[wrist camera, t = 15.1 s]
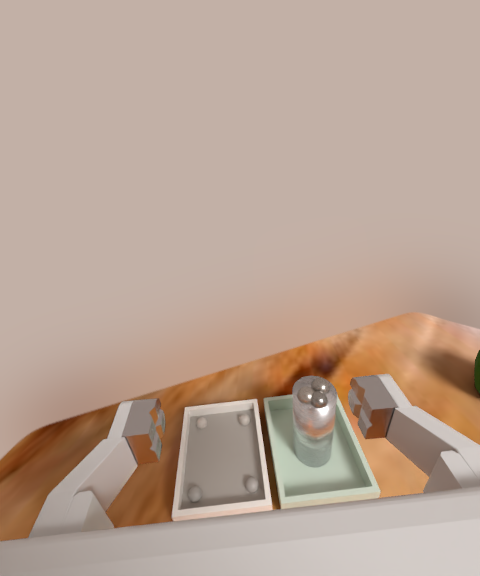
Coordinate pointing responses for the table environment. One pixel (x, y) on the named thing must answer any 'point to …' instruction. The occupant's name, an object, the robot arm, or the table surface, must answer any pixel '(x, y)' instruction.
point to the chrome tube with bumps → (313, 420)
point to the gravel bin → (221, 462)
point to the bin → (321, 480)
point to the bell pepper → (477, 372)
